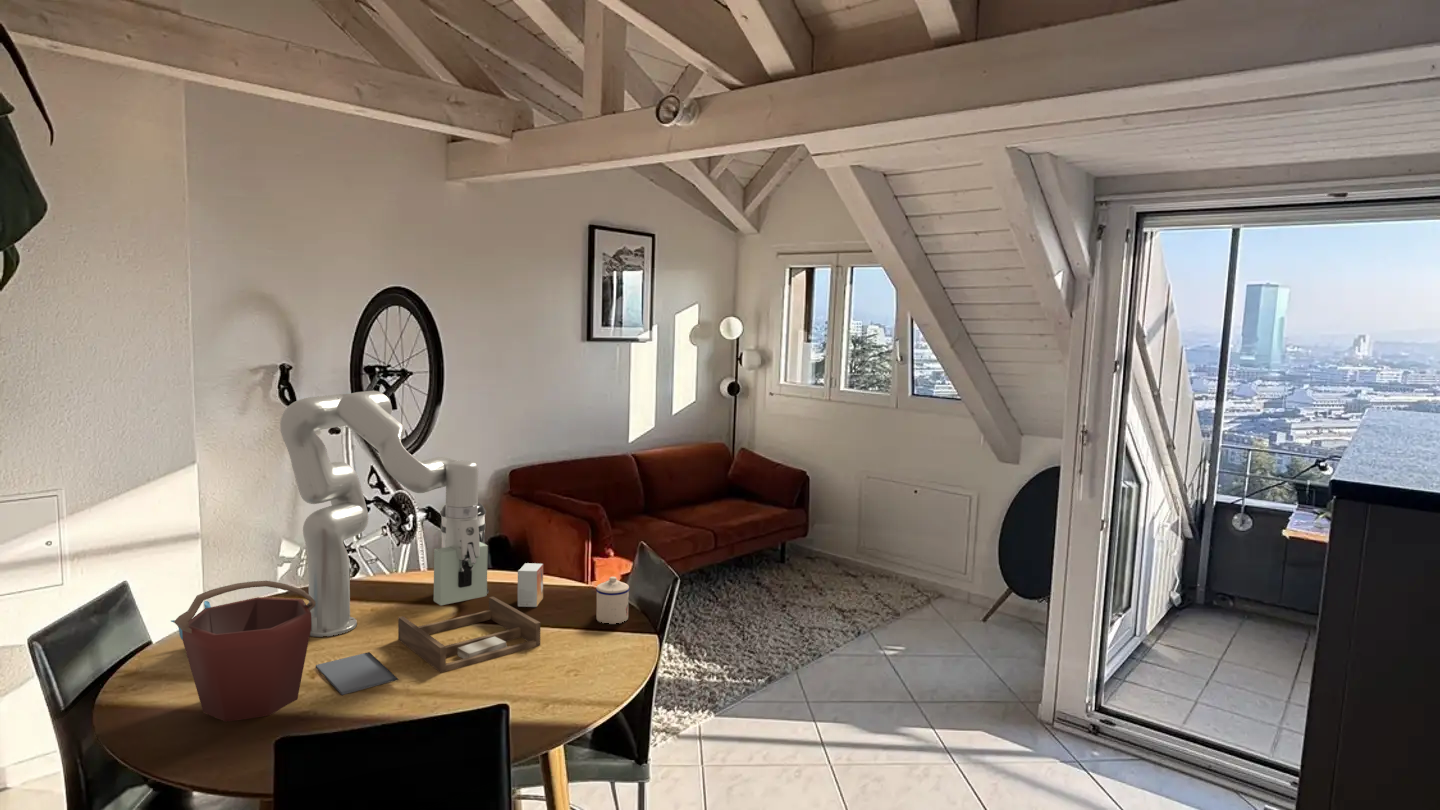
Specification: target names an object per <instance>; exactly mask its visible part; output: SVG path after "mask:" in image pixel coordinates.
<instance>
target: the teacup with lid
mask: <svg viewBox="0 0 1440 810" xmlns="http://www.w3.org/2000/svg"><path fill="white" fill-rule="evenodd" d="M630 590H631V589H630V586H629V584H627V583H625V582H623V581H620V580H618V579H617V577H616V576H610V577H608V580H606V581H605V582H601V583H599V584H597V586H596V588H595V591H596V620H597V622H598V623H601V622H602V623H601V624H604V623H609V624H608V625H617V624H616V623H619V624H622V622H623V623H625V622H626V621H627V620H629V599H630V597H629V596H630V594H629V591H630ZM624 621H625V622H624Z"/></svg>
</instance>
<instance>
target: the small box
mask: <svg viewBox="0 0 1440 810" xmlns="http://www.w3.org/2000/svg"><path fill="white" fill-rule="evenodd" d="M543 599H544V563H536V562H534V563H533V562H532V563H529V562H527V563H526V562H525V563H524V564H523V565H522V566H521V568H520V569H518V570H517V607H518V608H519V607H522V608H526V607H527V608H537V607H538V606H539V604H540V603H541V602H542V600H543Z"/></svg>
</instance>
